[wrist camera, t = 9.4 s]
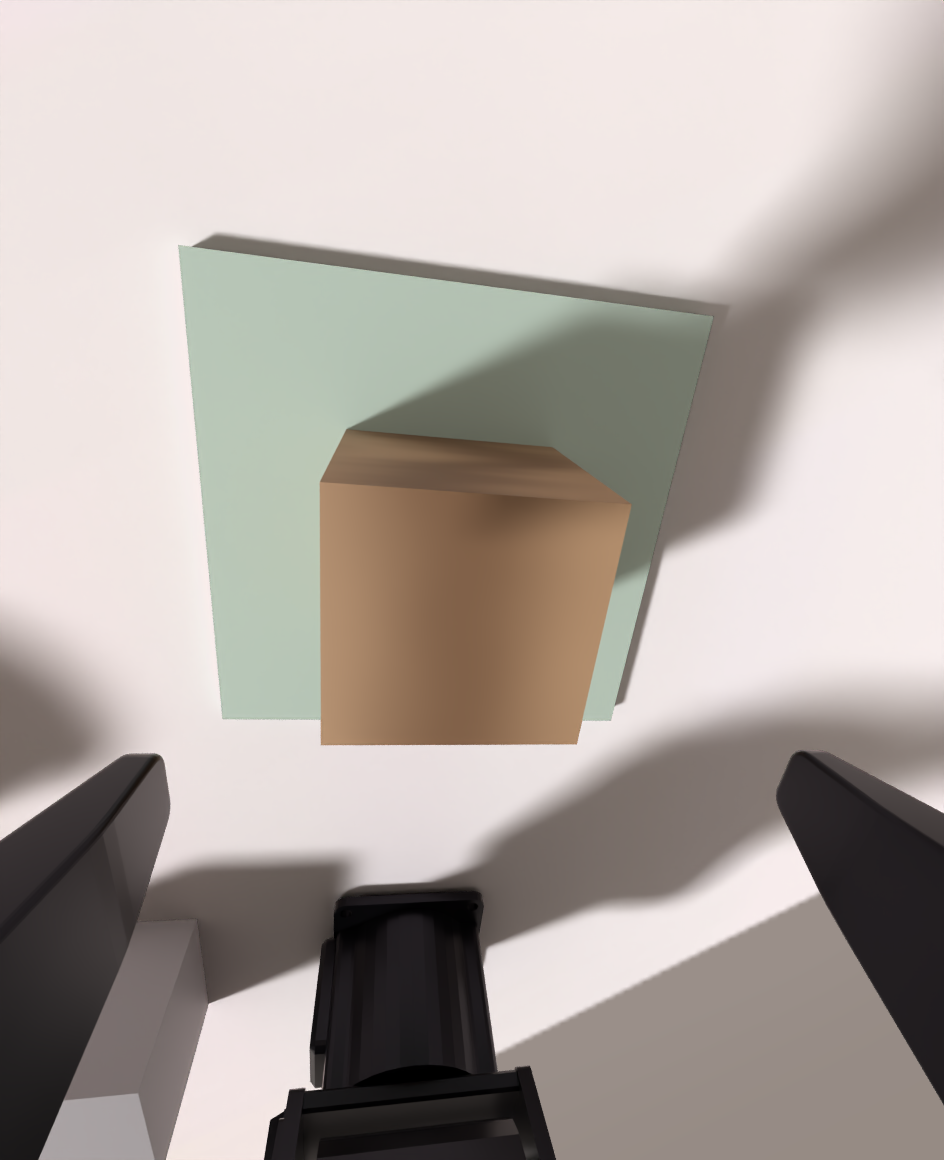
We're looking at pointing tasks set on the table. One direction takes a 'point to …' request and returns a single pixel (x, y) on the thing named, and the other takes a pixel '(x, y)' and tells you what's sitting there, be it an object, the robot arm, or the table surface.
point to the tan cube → (460, 590)
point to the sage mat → (405, 429)
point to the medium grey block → (137, 1052)
